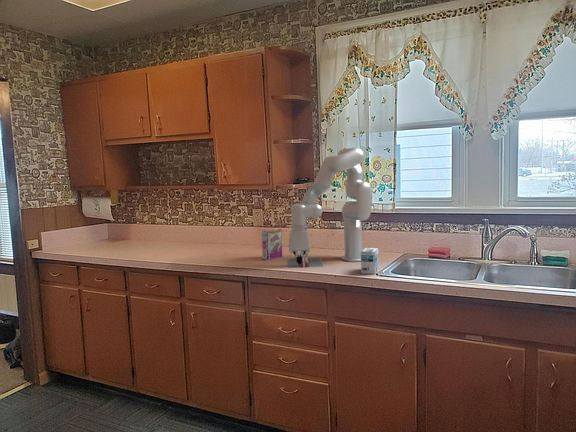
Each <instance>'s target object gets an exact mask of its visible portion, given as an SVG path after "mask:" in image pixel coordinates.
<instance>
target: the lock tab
mask: <svg viewBox="0 0 576 432" xmlns="http://www.w3.org/2000/svg"><path fill="white" fill-rule="evenodd" d="M300 254H301V251H298V255H299V256H300ZM304 256H305V257H307V259H308V258H309V254H308V253H305V254H304V255H303V257H304Z"/></svg>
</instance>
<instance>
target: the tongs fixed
mask: <svg viewBox="0 0 576 432" xmlns="http://www.w3.org/2000/svg"><path fill="white" fill-rule="evenodd" d="M303 257H304V256H303ZM304 260H305V264H306V267H305V268H310V267H309V262H308V260H307V257H306V256H305V257H304Z"/></svg>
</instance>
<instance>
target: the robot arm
mask: <svg viewBox="0 0 576 432" xmlns="http://www.w3.org/2000/svg"><path fill="white" fill-rule="evenodd" d="M364 156H365V155H364V151H363V150H362V149H361V148H360V147H349V148H348V147H347V148H342V149H340V150H338V153H337V155H332V156H331V155H329V156H326V157H324V159H323V160H322V163H321V165H320V167H319V170H318V173H317V175H316V178H315V179H314V182H313V183H312V184H311V185H310V186H309V188H308V189H307V190H306V191H305V193H304V194H303V197H302V199H301V202H300V203H294V204H292V205H291V208H290V209H291V214H290V215H291V230H290V231H289V237H288V238H289V241H288V243H289V244H288V247H289V250H288V253H289V254H293V255H294V256H295V258H296V259H297V263H298V265H299V264H301V263H302V257H304V256H305V255H304V254H305V253H310V252H311V249H310V236H309V231H308V229H310V225H307V218H308V219H309V218H310V219H317V218H319V217H321V216H322V214H323V207H322V206H321V205H320V204H318V203H316V201H317V199H318V198H319V197H320V196H321V195H322V194H324V193H325V192H327V191H328V190H329V189H330V188H331V186H332V183H333V182H334V180H335V179H334V178H335V175H336V173H342V172H346V181H345V184H346V185H345V194H346V197H348V198H349V199H350V200H351V199H352V200H355V201H352V200H351V201H348V202H346V203H345V204H344V205H342V209H341V213H342V215H341V216H342V220H343V227H344V228H343V234H344V235H343V236H344V237H343V238H344V256H341V259H342V261H344V262H353V263H355V262H361V251H362V250H363V227H362V222H363V221H366V220H368V219H369V218H370V216H371V214H372V205H373V204H372V203H373V188H372V186H371V184H370V183H368V182H367V181H363V178H364V177H363V175H364V172H363V167H362V165H361V163H362V161H363V160H364V158H365V157H364ZM299 252H301V254H300V256H299ZM303 255H304V256H303Z"/></svg>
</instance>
